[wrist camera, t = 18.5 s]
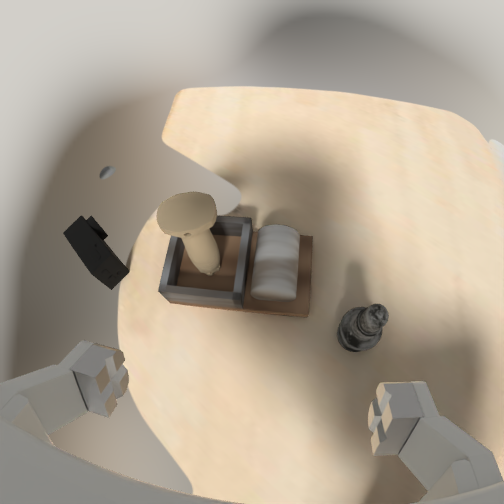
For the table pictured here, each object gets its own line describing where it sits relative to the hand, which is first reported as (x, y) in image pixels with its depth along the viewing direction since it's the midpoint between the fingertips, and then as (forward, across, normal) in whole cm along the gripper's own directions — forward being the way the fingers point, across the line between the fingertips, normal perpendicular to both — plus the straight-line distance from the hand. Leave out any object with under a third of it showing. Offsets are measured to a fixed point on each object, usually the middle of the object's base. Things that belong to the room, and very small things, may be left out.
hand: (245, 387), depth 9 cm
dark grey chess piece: (+31, +11, -18) cm, 37 cm away
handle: (+35, -10, -11) cm, 38 cm away
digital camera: (+36, -29, -13) cm, 48 cm away
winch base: (+36, -6, -12) cm, 39 cm away
